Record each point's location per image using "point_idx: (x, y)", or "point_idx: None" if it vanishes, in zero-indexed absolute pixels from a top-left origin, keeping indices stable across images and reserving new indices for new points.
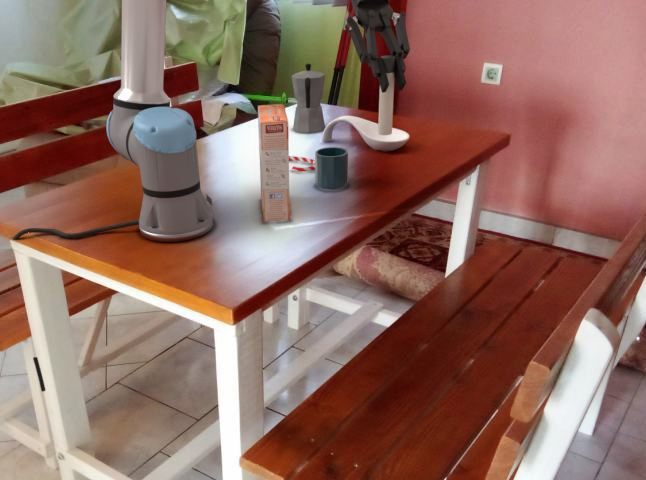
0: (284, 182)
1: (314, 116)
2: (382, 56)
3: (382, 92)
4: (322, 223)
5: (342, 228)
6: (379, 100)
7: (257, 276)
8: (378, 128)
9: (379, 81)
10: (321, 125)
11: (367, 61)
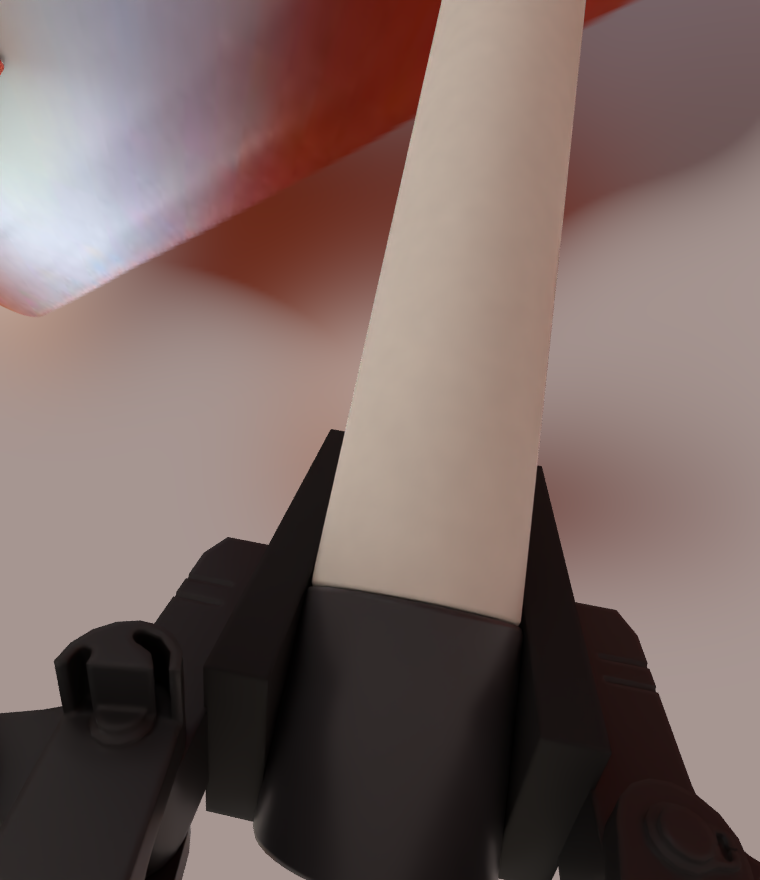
0: None
1: None
2: (296, 862)
3: (333, 432)
4: (137, 126)
5: (205, 183)
6: (385, 252)
7: (35, 275)
8: (438, 15)
9: (298, 499)
10: None
11: (36, 735)
